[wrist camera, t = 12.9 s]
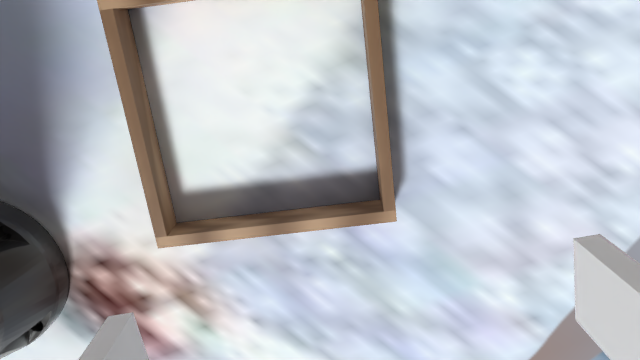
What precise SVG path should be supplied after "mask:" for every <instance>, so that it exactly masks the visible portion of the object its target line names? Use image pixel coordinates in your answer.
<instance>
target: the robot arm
mask: <svg viewBox="0 0 640 360" xmlns="http://www.w3.org/2000/svg"><path fill="white" fill-rule="evenodd" d="M573 245H574V282H575V319H576V321H577V322H578V323H579V324H580V326H581V327H582V328H583V329H584V330H585V331H586V332H587V334H588V335H589V336H590V337H591V338H592V339H593V340H594V341H595V343H596V344H597V345H598V346H599V347H600V348H601V349H602V351H603V352H604V353H605V354H606V355H607V356H608V357H609V359H610V360H640V264H639V263H638V262H637V261H635V260H634V259H633V258H632V257H630V256H629V255H628V254H626V253H625V252H623V251H622V250H621V249H619V248H618V247H617V246H615V245H614V244H613V243H611V242H610V241H609V240H607V239H606V238H605V237H603V236H602V235H600V234H598V235H592V236H586V237H580V238H574V239H573ZM68 289H69V278H68V271H67V267H66V263H65V260H64V258H63V255H62V253H61V251H60V249H59V248H58V246H57V244H56V243H55V241H54V240H53V238H52V237H51V236H50V235H49V233H48V232H47V231H46V230H45V229H44V228H43V227H42V226H41V225H40V224H39V223H37V222H36V221H35V220H34V219H33V218H31V217H30V216H28V215H27V214H25V213H24V212H22V211H20V210H18V209H17V208H15V207H12V206H10V205H8V204H5V203H2V202H0V359H1V358H3V357H5V356H7V355H9V354H11V353H13V352H15V351H17V350H19V349H21V348H23V347H25V346H27V345H29V344H30V343H32V342H33V341H35V340H36V339H37V338H38V337H40V336H41V335H42V334H43V333H44V332H45V331H46V330H47V329H48V328H49V326H50V325H51V324H52V323H53V322H54V321H55V320H56V319H57V317H58V316H59V315H60V313H61V311H62V310H63V308H64V305H65V303H66V300H67V296H68ZM79 360H149V358H148V355H147V352H146V349H145V347H144V344H143V341H142V338H141V335H140V332H139V329H138V326H137V323H136V320H135V317H134V314H133V313H127V314H121V315H115V316H109V317H108V318H107V319H106V321H105V322H104V323H103V325H102V326H101V328H100V329H99V331H98V332H97V334H96V335H95V337H94V338H93V339H92V341H91V342H90V344H89V345H88V347H87V348H86V350H85V351H84V352H83V354H82V355H81V357H80V358H79Z"/></svg>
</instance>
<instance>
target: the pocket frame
mask: <svg viewBox="0 0 640 360" xmlns="http://www.w3.org/2000/svg"><path fill="white" fill-rule="evenodd" d="M186 1H193V0H97V2H98V6H99V10H100V14H101V19H102V23H103V27H104V31H105V35H106V39H107V43H108V47H109V51H110V55H111V59H112V63H113V67H114V71H115V75H116V79H117V84H118V88H119V92H120V96H121V100H122V104H123V108H124V112H125V116H126V120H127V124H128V128H129V132H130V136H131V140H132V144H133V149H134V153H135V157H136V161H137V165H138V169H139V173H140V177H141V181H142V185H143V189H144V193H145V197H146V201H147V205H148V209H149V214H150V218H151V222H152V226H153V230H154V234H155V238H156V242H157V246H158V248H165V247H174V246H183V245H192V244H201V243H210V242H218V241H227V240H236V239H245V238H254V237H263V236H271V235H280V234H289V233H298V232H307V231H316V230H325V229H333V228H342V227H351V226H360V225H369V224H378V223H386V222H395V221H397V220H396V208H395V197H394V185H393V173H392V162H391V150H390V139H389V127H388V115H387V104H386V92H385V81H384V69H383V57H382V46H381V34H380V23H379V11H378V0H361V6H362V17H363V27H364V38H365V48H366V59H367V69H368V79H369V90H370V100H371V111H372V121H373V132H374V142H375V153H376V163H377V174H378V184H379V194H380V200H372V201H363V202H354V203H346V204H337V205H328V206H319V207H311V208H302V209H293V210H285V211H276V212H267V213H259V214H250V215H241V216H233V217H224V218H215V219H207V220H198V221H189V222H181V223H177V222H176V217H175V213H174V209H173V204H172V200H171V196H170V191H169V187H168V183H167V178H166V174H165V170H164V165H163V161H162V157H161V152H160V148H159V143H158V139H157V135H156V130H155V126H154V122H153V117H152V113H151V109H150V104H149V100H148V96H147V91H146V87H145V83H144V78H143V74H142V70H141V65H140V61H139V56H138V52H137V48H136V43H135V39H134V35H133V30H132V26H131V22H130V17H129V13H128V9H135V8H142V7H149V6H157V5H164V4H171V3H179V2H186Z"/></svg>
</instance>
